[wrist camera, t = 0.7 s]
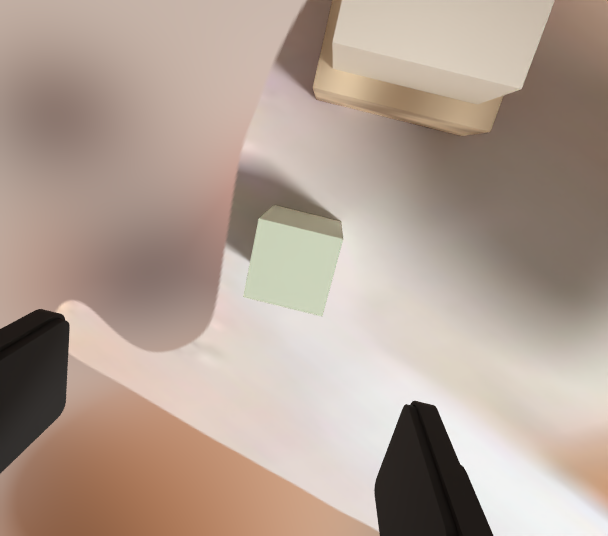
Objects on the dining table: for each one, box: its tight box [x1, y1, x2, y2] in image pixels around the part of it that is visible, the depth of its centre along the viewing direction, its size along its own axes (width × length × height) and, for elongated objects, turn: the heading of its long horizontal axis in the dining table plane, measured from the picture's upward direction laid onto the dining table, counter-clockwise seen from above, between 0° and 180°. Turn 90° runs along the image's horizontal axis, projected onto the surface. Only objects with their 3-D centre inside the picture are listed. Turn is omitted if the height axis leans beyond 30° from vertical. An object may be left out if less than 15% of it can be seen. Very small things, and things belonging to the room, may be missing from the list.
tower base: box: [313, 0, 504, 136], centre depth 22 cm, size 10×10×5 cm
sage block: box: [243, 205, 343, 316], centre depth 25 cm, size 5×5×6 cm
